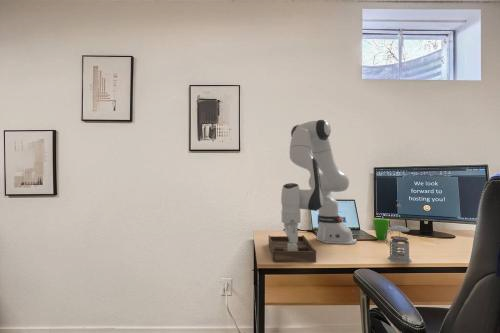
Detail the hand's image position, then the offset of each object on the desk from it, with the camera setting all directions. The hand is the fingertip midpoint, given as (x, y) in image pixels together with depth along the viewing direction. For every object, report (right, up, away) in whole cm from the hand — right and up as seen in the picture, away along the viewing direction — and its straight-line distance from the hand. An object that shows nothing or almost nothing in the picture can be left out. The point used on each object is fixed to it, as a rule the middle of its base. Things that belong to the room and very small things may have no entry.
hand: (291, 247), depth 136 cm
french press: (+48, -4, -5) cm, 48 cm away
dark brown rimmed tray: (0, -4, +6) cm, 8 cm away
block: (0, -2, -3) cm, 3 cm away
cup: (+58, -5, +33) cm, 67 cm away
